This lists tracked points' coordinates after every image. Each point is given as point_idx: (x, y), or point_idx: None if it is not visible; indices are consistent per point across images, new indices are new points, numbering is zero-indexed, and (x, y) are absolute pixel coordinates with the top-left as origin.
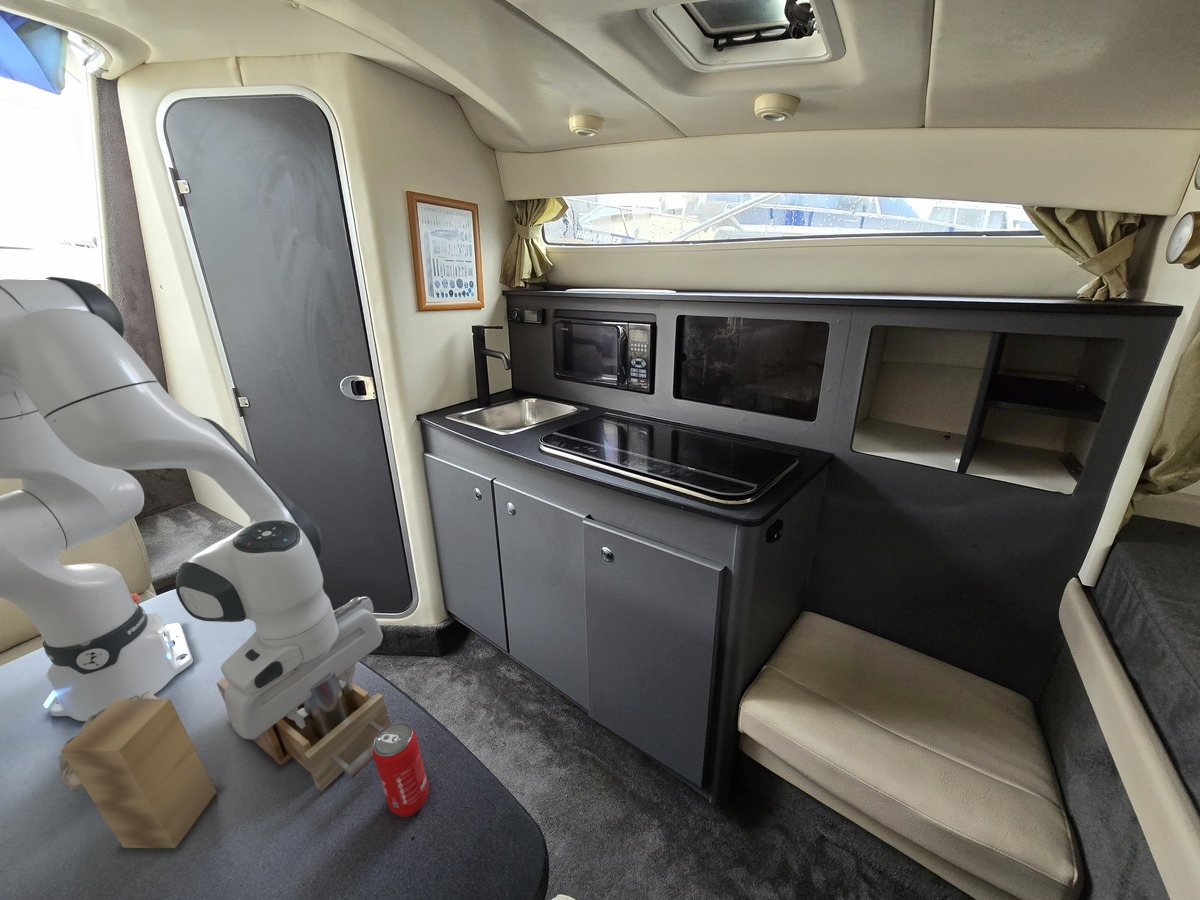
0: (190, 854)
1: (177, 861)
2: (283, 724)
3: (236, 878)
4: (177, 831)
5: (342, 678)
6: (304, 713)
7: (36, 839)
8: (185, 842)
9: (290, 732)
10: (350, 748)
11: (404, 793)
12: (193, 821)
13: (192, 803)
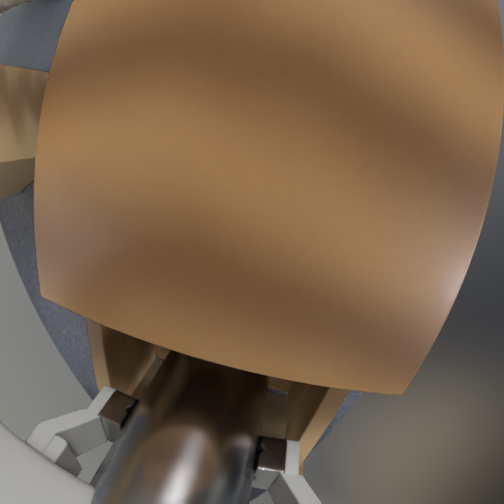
0: (22, 224)
1: (15, 216)
2: (93, 325)
3: (45, 314)
4: (7, 193)
5: (280, 484)
6: (114, 435)
7: (6, 19)
8: (24, 198)
9: (96, 363)
10: None
11: None
12: (32, 179)
13: (15, 179)
